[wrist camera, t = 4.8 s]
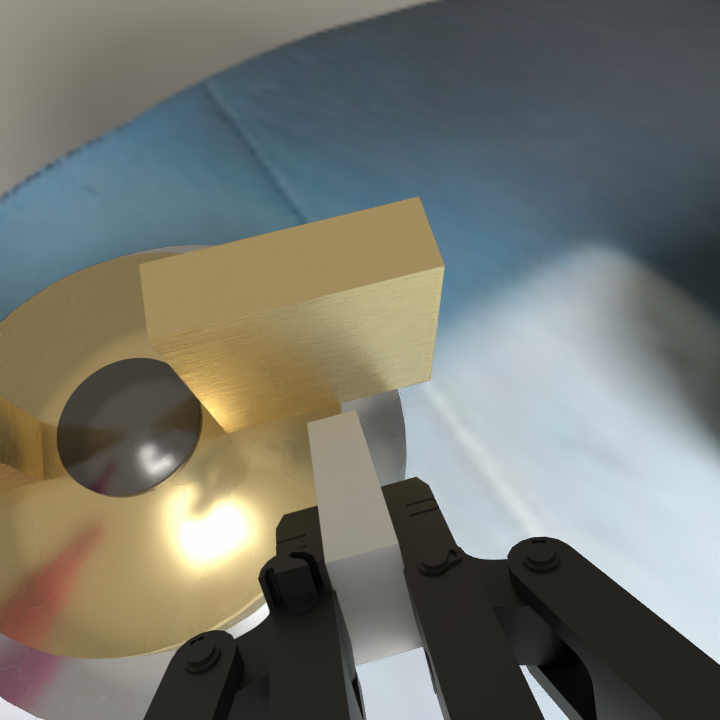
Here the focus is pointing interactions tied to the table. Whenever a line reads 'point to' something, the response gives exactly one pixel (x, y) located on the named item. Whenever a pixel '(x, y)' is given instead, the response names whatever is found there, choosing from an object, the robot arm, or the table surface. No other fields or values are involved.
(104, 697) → the silver round plate
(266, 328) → the gold twin-plate stand
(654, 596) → the table surface
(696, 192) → the table surface
